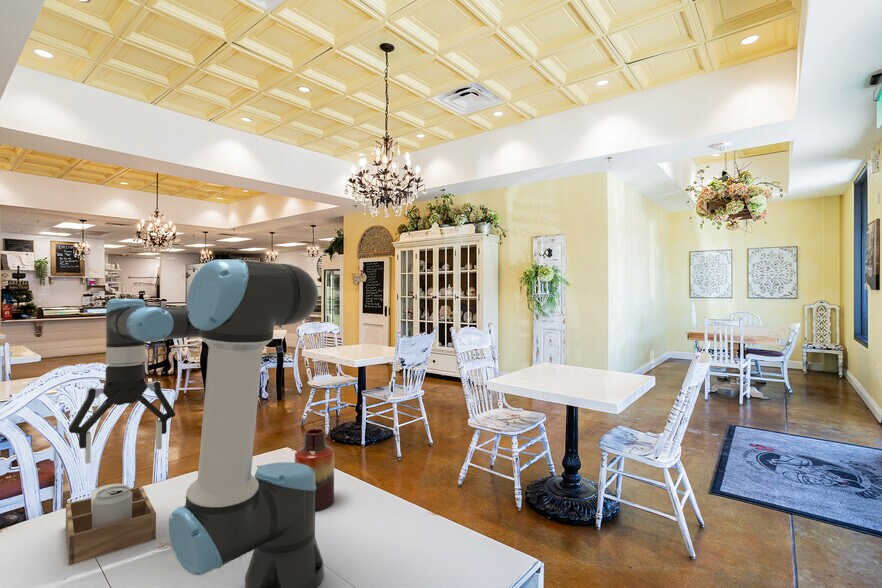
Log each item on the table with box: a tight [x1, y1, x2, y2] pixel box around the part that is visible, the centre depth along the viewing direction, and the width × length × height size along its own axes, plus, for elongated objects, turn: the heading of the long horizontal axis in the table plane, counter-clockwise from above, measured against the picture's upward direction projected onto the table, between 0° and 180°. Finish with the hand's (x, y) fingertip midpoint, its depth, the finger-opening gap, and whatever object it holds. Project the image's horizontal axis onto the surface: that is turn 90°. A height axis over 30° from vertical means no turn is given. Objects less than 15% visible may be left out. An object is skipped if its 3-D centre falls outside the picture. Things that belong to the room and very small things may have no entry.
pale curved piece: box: [90, 483, 124, 512], centre depth 109 cm, size 7×7×9 cm
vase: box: [294, 428, 335, 513], centre depth 124 cm, size 11×11×20 cm
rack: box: [65, 485, 157, 566], centre depth 106 cm, size 20×16×7 cm
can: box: [92, 484, 132, 529], centre depth 102 cm, size 8×8×12 cm
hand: (124, 454), depth 103 cm, fingers open, 13 cm apart
